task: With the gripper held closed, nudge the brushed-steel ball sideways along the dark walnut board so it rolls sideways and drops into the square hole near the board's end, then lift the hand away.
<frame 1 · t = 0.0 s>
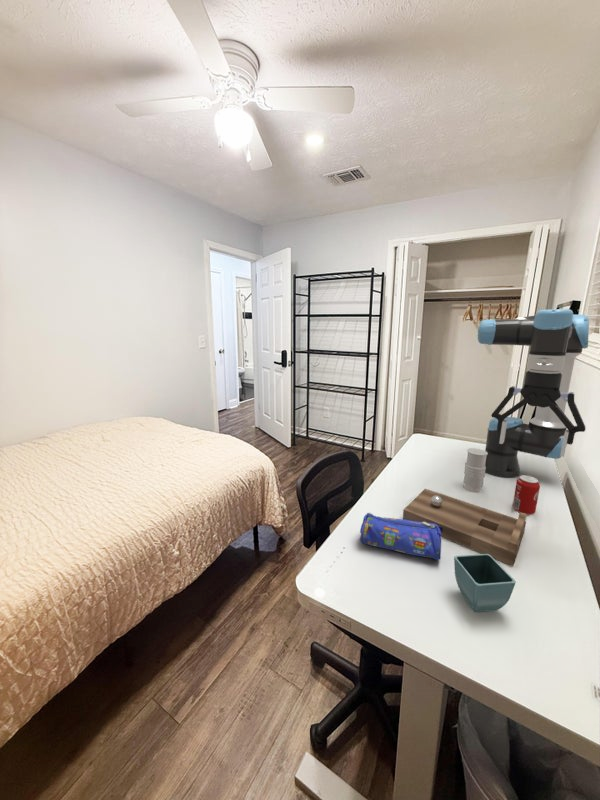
hand: (530, 448, 87), 28 cm above the table, fingers open, 13 cm apart
ball: (436, 501, 102), point 6 cm above the table, touching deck
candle: (472, 488, 122), on the table
flower pot: (478, 602, 72), on the table
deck: (461, 527, 98), on the table
beverage can: (523, 512, 107), on the table
pencil case: (399, 549, 89), on the table
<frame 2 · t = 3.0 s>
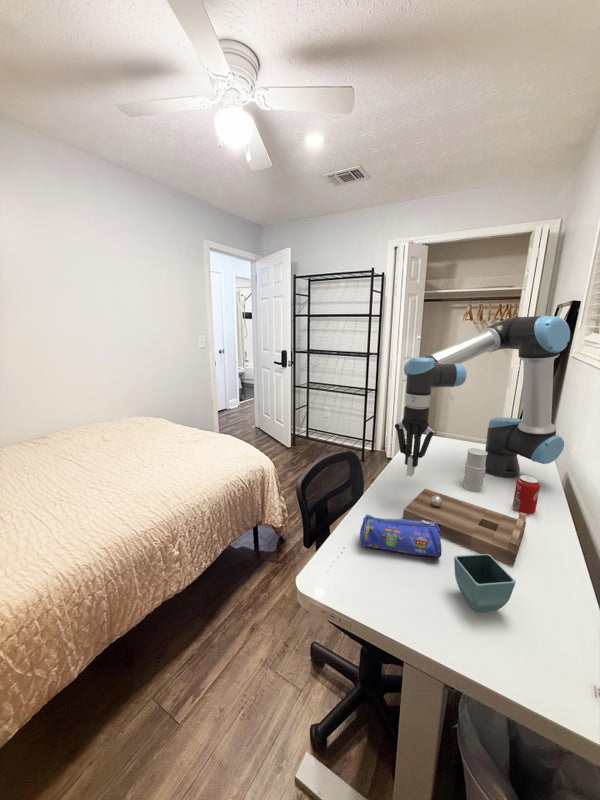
hand: (410, 474, 107), 12 cm above the table, fingers closed
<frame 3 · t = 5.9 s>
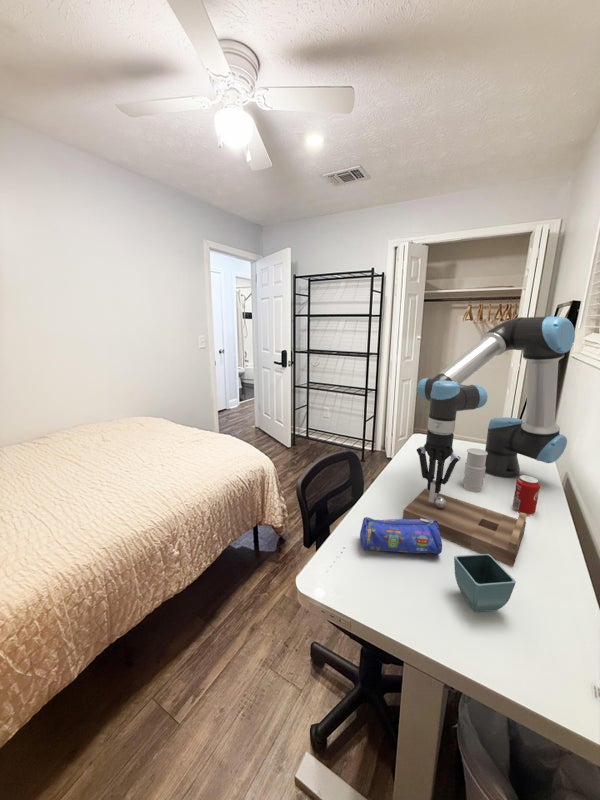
hand: (432, 500, 103), 6 cm above the table, fingers closed
ball: (440, 502, 101), point 6 cm above the table, tilted 39°, touching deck, gripper
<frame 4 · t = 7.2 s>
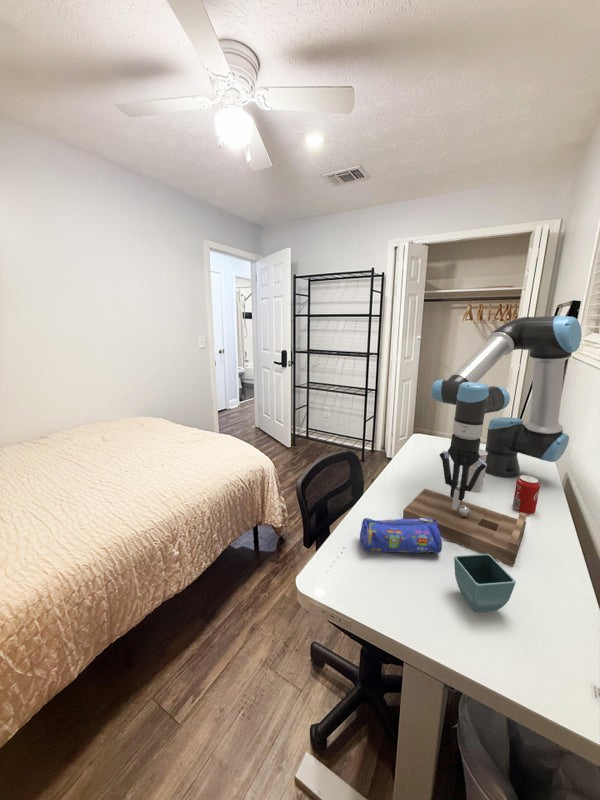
hand: (455, 507, 98), 6 cm above the table, fingers closed
ball: (463, 511, 97), point 6 cm above the table, tilted 129°, touching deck, gripper
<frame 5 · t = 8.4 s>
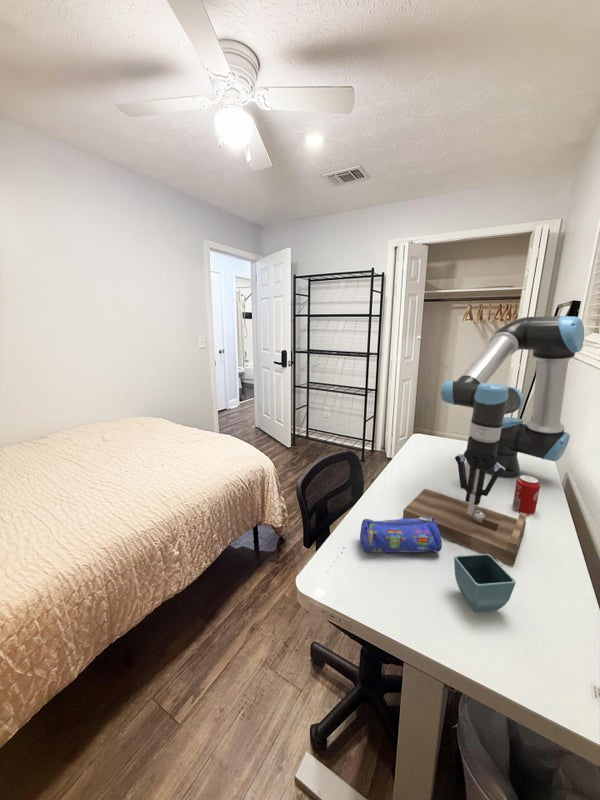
hand: (470, 512, 95), 6 cm above the table, fingers closed
ball: (478, 516, 94), point 6 cm above the table, tilted 41°, touching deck, gripper
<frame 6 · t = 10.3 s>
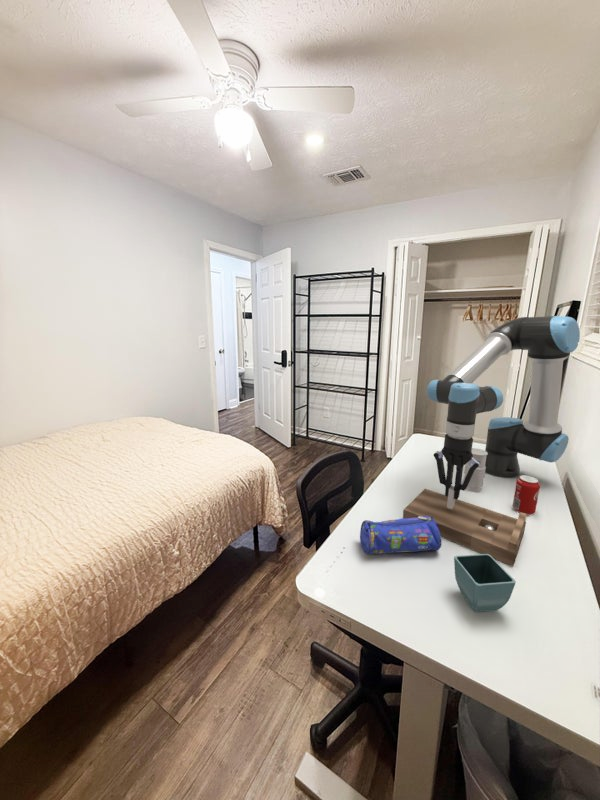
hand: (450, 506, 100), 5 cm above the table, fingers closed
ball: (488, 531, 94), point 2 cm above the table, tilted 85°
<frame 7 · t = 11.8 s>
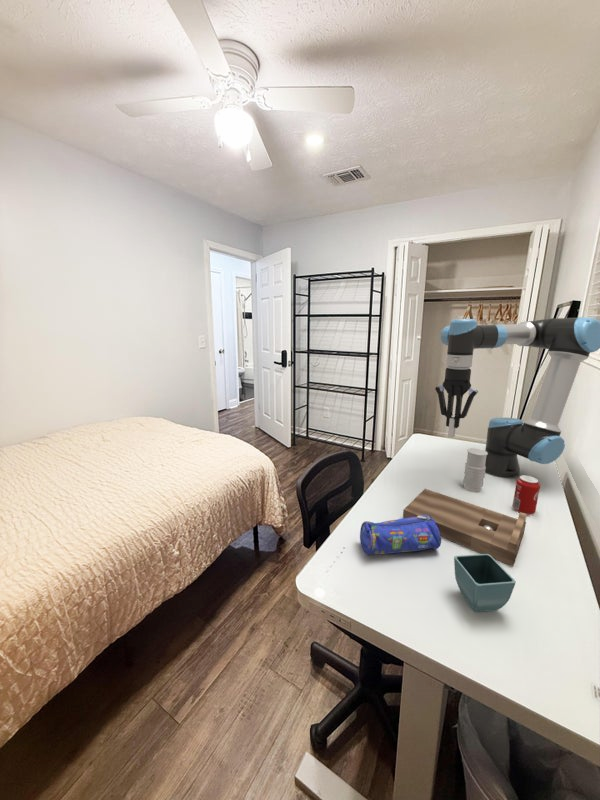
hand: (451, 436, 109), 24 cm above the table, fingers closed
ball: (487, 531, 93), point 2 cm above the table, tilted 69°
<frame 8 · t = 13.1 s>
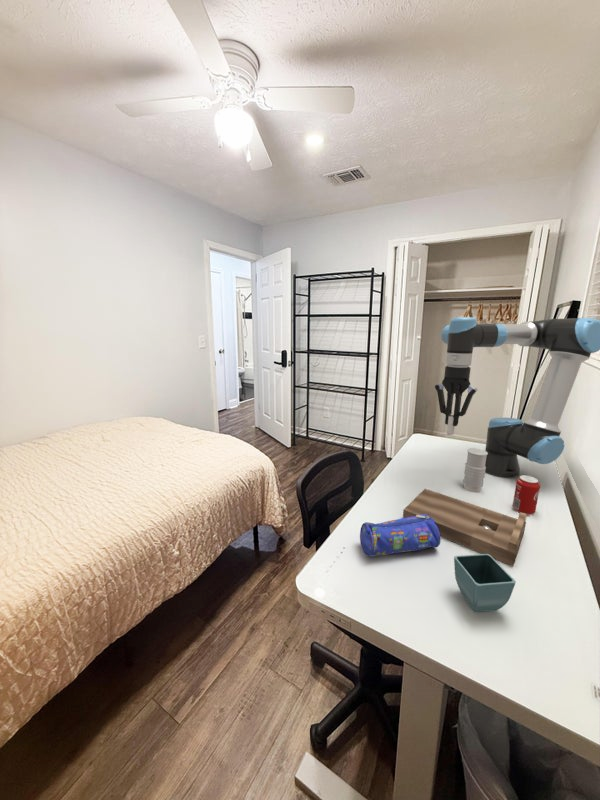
hand: (450, 434, 110), 24 cm above the table, fingers closed
ball: (485, 531, 93), point 2 cm above the table, tilted 57°
at the end: ball 0.6 cm from the target spot in the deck, point 1.7 cm above the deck's base; ball touching table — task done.
